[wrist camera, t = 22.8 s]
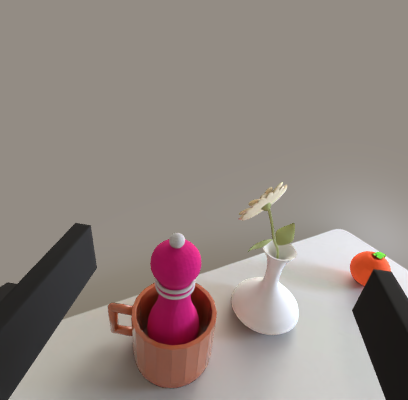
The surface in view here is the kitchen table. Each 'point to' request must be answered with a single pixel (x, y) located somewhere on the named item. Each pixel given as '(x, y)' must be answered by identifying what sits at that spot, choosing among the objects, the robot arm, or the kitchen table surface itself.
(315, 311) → the kitchen table surface
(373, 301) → the robot arm
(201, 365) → the terracotta coffee mug
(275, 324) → the flower in vase
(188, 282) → the pepper mill
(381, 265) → the clementine
